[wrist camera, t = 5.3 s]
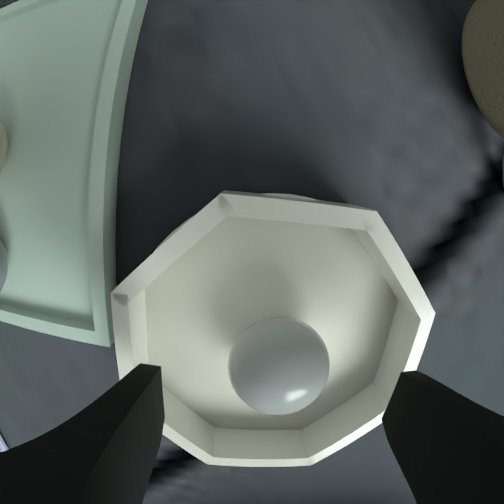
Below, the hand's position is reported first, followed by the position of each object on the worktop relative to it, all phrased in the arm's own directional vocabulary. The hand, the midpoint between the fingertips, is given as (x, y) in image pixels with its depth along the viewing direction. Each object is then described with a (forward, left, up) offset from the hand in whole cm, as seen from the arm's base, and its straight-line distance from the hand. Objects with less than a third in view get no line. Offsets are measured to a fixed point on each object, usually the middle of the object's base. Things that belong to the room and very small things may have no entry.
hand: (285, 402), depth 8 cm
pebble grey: (0, 0, -3) cm, 4 cm away
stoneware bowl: (0, 0, -4) cm, 4 cm away
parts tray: (-12, +7, -4) cm, 15 cm away
